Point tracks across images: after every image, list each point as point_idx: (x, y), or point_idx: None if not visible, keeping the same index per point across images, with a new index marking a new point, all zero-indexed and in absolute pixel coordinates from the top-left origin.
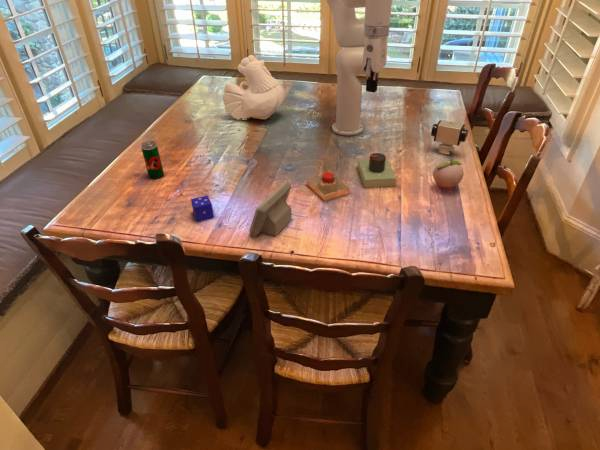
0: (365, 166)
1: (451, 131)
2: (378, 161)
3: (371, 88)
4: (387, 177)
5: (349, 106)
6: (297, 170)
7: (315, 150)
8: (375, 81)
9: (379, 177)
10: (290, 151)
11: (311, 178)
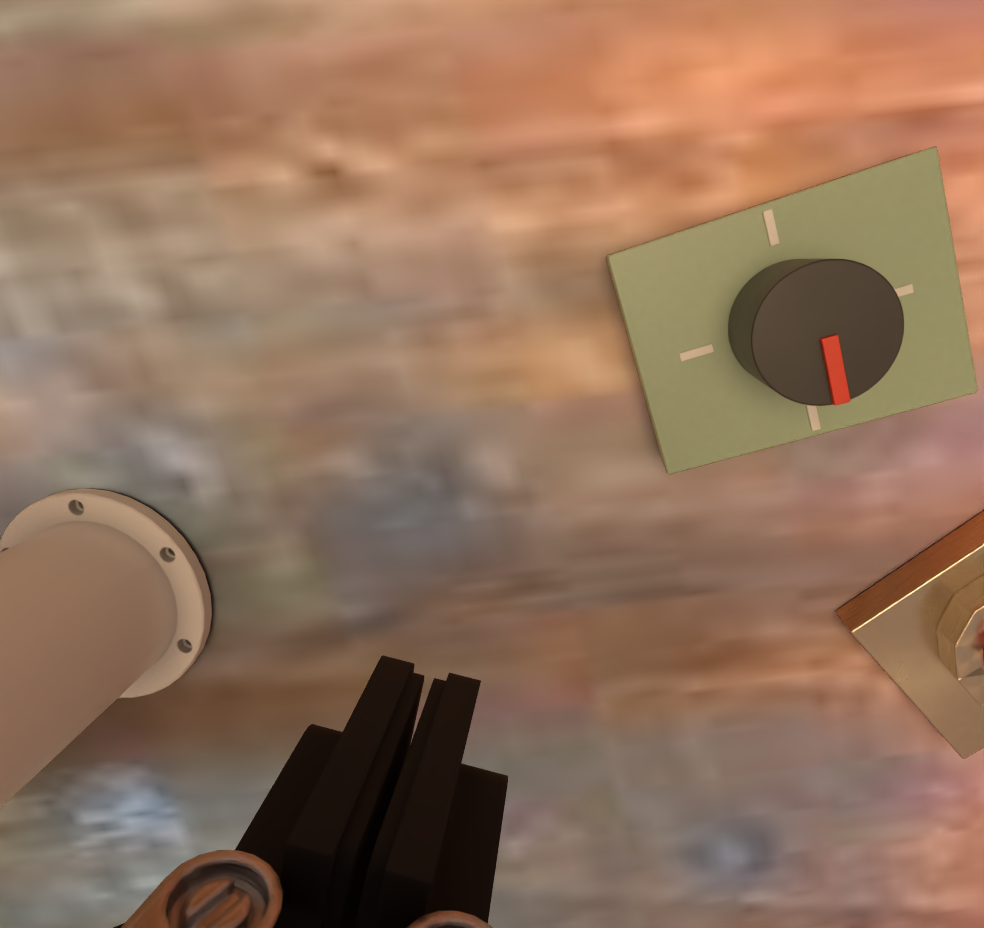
0: (761, 412)
1: None
2: (899, 318)
3: (500, 807)
4: (929, 219)
5: (33, 698)
6: (756, 807)
7: (470, 744)
8: (431, 867)
9: (934, 285)
10: (519, 874)
11: (946, 738)
